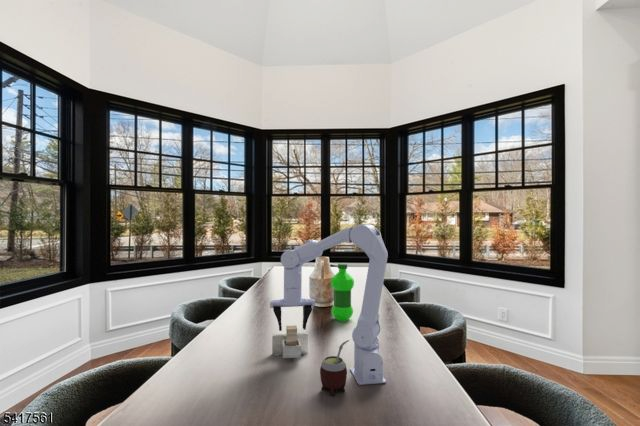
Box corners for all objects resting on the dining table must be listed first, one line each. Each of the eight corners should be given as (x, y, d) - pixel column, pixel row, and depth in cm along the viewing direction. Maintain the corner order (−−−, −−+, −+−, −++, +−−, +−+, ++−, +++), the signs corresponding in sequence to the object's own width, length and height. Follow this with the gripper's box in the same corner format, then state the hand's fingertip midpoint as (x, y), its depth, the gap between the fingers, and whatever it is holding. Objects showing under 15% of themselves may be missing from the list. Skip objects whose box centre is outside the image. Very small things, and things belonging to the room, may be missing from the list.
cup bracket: (310, 362, 101) (311, 342, 101) (272, 365, 99) (272, 344, 99) (307, 351, 109) (307, 332, 109) (272, 353, 107) (272, 334, 107)
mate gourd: (322, 382, 89) (322, 328, 89) (350, 385, 88) (351, 330, 88) (317, 397, 81) (318, 338, 82) (348, 400, 80) (349, 340, 80)
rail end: (296, 353, 101) (297, 328, 101) (286, 354, 101) (287, 329, 101) (296, 349, 104) (296, 325, 104) (286, 350, 104) (286, 325, 104)
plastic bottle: (329, 316, 149) (330, 262, 150) (352, 316, 150) (352, 262, 150) (331, 323, 139) (331, 265, 140) (355, 323, 140) (355, 266, 140)
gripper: (313, 283, 108) (312, 324, 108) (269, 284, 106) (269, 326, 106) (316, 288, 101) (315, 331, 101) (270, 289, 99) (269, 333, 99)
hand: (292, 329), depth 103 cm, fingers open, 7 cm apart
